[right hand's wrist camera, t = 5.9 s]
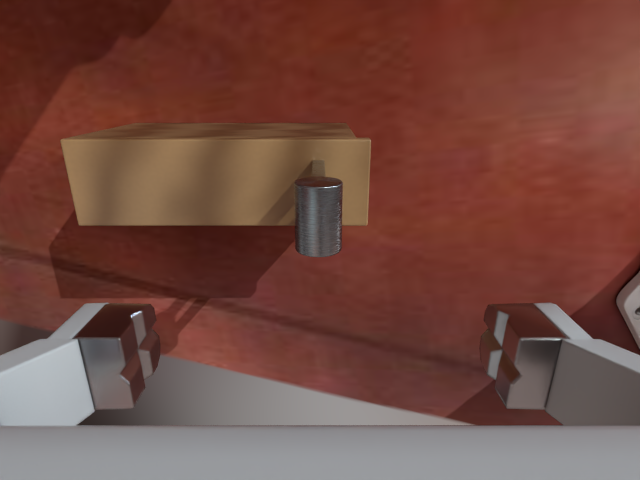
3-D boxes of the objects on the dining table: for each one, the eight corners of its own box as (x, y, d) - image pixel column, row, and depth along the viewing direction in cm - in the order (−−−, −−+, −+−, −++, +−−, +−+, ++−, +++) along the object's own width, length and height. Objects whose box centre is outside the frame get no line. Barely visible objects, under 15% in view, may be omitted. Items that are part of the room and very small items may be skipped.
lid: (369, 137, 25) (392, 162, 17) (366, 221, 27) (385, 278, 19) (67, 137, 25) (-47, 162, 17) (85, 221, 27) (-11, 278, 19)
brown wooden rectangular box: (346, 123, 34) (356, 137, 25) (345, 186, 36) (354, 221, 27) (134, 123, 34) (67, 137, 25) (144, 186, 36) (85, 221, 27)
